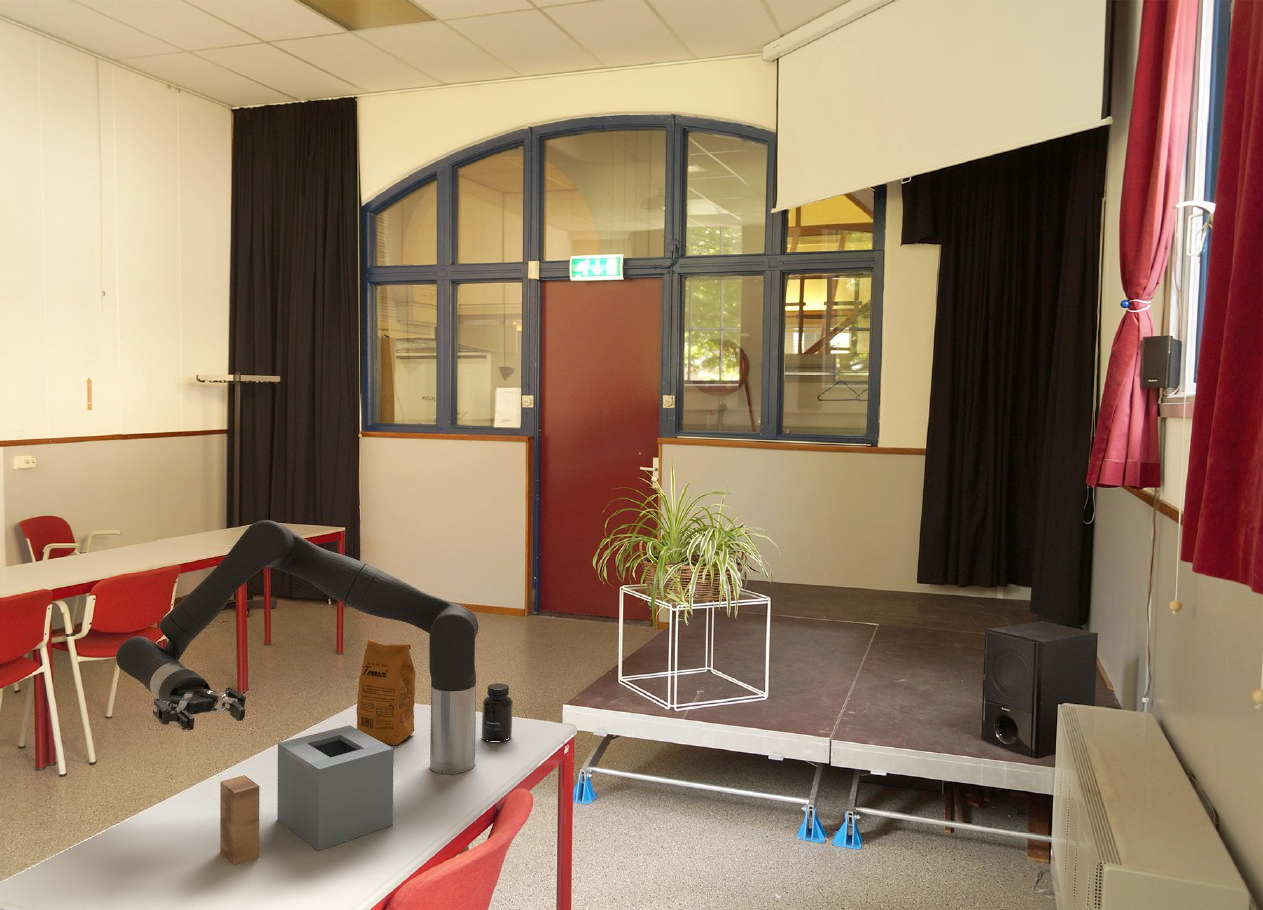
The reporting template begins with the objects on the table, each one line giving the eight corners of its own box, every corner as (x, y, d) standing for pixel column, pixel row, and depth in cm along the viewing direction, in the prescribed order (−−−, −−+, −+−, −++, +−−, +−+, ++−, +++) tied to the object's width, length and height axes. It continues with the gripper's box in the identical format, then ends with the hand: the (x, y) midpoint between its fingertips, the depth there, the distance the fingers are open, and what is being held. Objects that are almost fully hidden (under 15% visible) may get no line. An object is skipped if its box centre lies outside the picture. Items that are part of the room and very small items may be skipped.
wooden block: (220, 851, 149) (220, 781, 149) (244, 844, 152) (244, 774, 152) (234, 865, 145) (234, 792, 144) (259, 856, 148) (259, 785, 147)
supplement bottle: (487, 745, 200) (488, 692, 199) (477, 735, 206) (478, 683, 205) (516, 740, 203) (517, 688, 202) (506, 730, 209) (507, 680, 208)
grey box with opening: (277, 819, 161) (277, 743, 161) (349, 796, 171) (349, 725, 171) (318, 850, 150) (319, 769, 150) (392, 825, 160) (393, 748, 160)
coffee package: (375, 726, 210) (376, 633, 209) (420, 733, 206) (422, 639, 205) (348, 740, 200) (349, 643, 200) (395, 748, 196) (396, 649, 195)
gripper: (140, 674, 159) (177, 706, 149) (220, 663, 170) (260, 692, 159) (135, 714, 160) (172, 749, 149) (216, 701, 170) (255, 732, 160)
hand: (217, 720), depth 154 cm, fingers open, 8 cm apart
